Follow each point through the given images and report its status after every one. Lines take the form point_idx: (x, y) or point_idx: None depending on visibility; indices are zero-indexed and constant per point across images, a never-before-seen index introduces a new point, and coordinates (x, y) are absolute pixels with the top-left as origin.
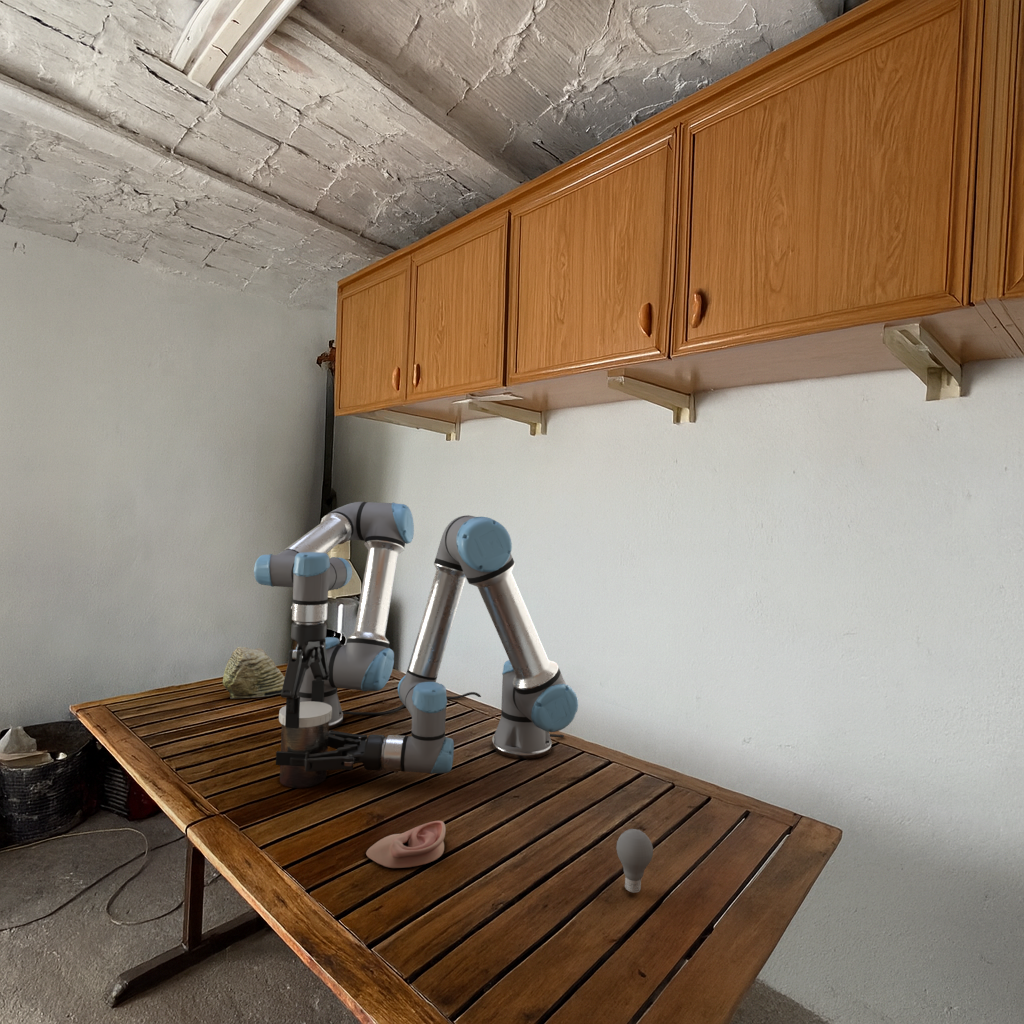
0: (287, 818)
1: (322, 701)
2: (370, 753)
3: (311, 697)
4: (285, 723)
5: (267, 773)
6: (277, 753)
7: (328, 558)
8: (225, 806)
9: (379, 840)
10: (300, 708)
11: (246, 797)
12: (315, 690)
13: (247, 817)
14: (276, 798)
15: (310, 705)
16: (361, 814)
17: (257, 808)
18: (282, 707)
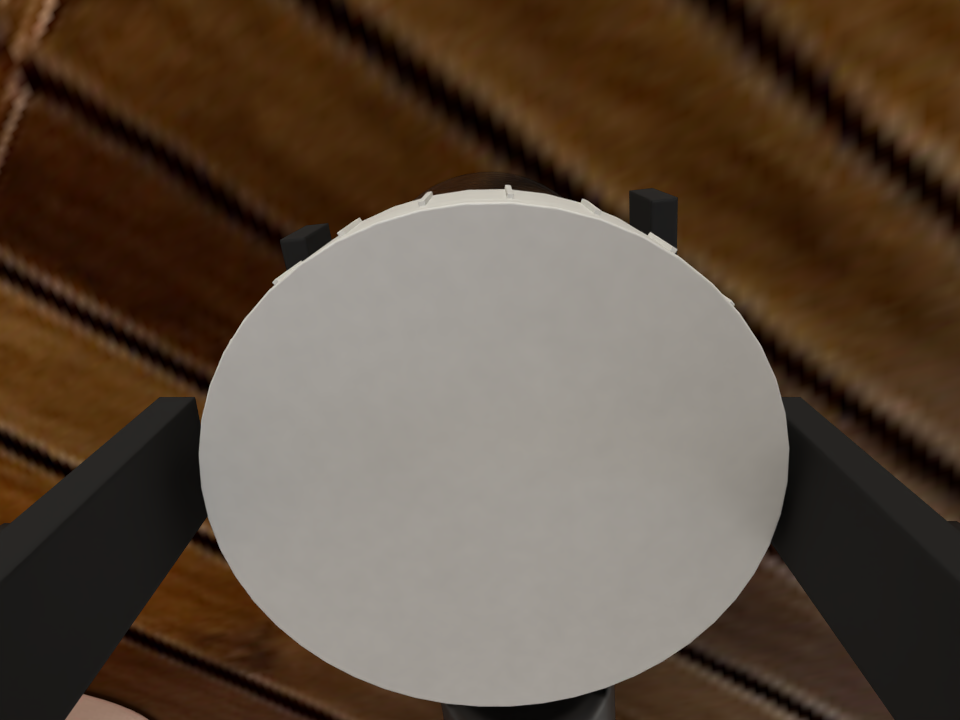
0: (120, 387)
1: (786, 559)
2: (443, 709)
3: (833, 464)
4: (140, 415)
5: (503, 68)
6: (284, 249)
7: None
8: (88, 50)
9: (91, 712)
10: (506, 436)
11: (211, 108)
12: (884, 577)
13: (51, 222)
14: (254, 263)
15: (633, 494)
16: (252, 608)
17: (138, 224)
18: (487, 209)
